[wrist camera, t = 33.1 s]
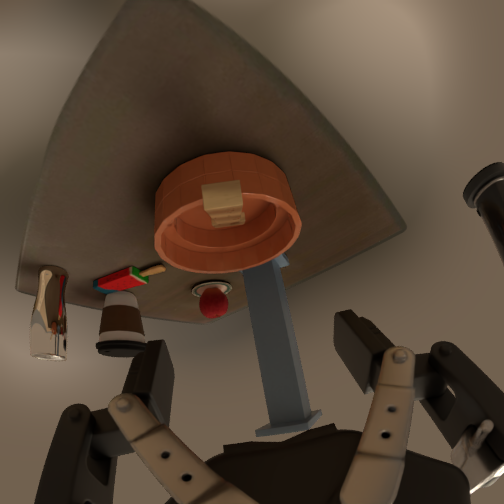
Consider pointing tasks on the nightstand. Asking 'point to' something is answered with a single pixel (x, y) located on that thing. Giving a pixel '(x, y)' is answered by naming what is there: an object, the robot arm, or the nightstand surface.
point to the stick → (224, 203)
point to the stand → (277, 350)
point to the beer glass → (49, 315)
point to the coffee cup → (121, 326)
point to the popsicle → (125, 279)
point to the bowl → (232, 237)
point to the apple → (212, 298)
